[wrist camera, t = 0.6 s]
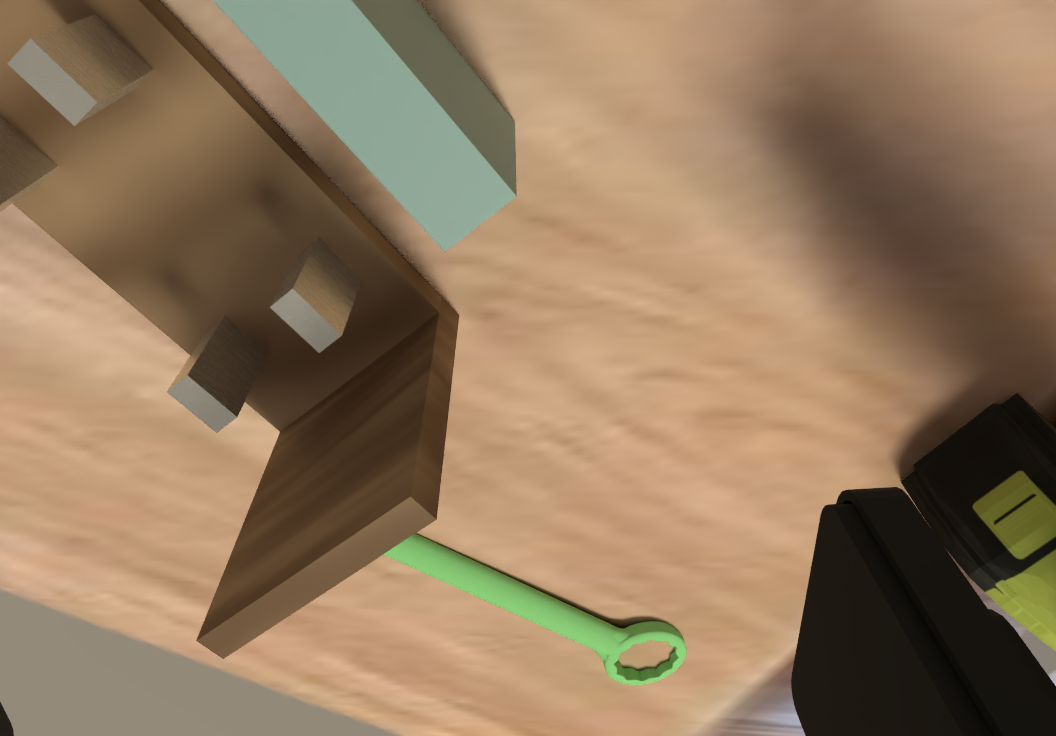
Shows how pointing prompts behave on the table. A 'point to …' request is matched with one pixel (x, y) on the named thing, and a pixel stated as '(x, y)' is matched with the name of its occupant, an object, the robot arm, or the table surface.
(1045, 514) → the cordless drill
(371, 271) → the cabinet base
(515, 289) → the table surface
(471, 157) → the pale teal rectangular block
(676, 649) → the wrench
